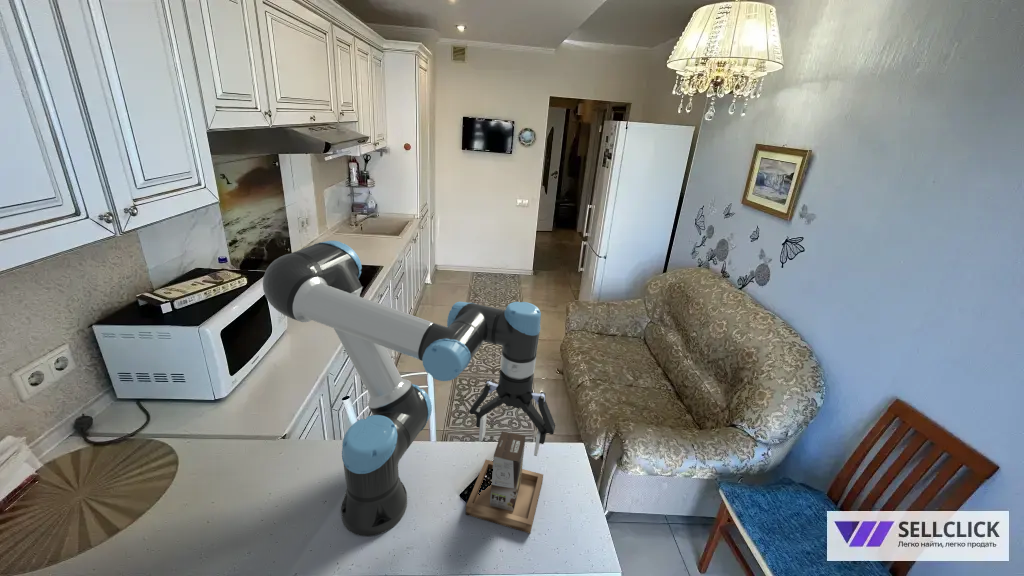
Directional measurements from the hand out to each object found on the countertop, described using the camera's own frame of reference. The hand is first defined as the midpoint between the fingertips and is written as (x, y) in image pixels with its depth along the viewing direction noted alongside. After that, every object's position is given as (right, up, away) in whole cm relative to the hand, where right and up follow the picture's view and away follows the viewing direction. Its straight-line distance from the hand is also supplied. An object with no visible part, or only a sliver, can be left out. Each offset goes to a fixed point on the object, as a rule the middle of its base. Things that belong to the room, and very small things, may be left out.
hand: (508, 444), depth 97 cm
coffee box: (-1, -15, +7) cm, 17 cm away
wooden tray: (-1, -16, +7) cm, 18 cm away
